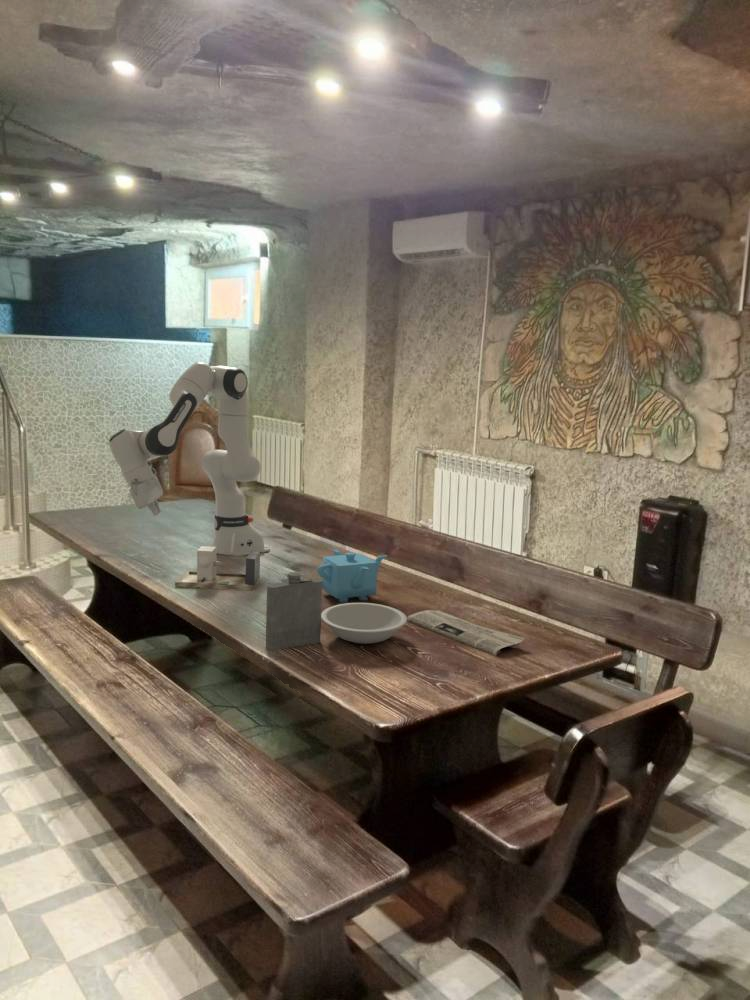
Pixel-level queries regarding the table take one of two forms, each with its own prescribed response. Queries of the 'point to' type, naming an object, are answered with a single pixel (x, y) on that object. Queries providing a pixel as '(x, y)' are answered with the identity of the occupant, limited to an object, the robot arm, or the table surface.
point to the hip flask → (293, 612)
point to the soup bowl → (363, 621)
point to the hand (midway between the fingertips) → (157, 514)
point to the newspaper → (465, 631)
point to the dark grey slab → (252, 568)
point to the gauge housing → (206, 563)
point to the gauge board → (216, 581)
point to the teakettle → (349, 575)
